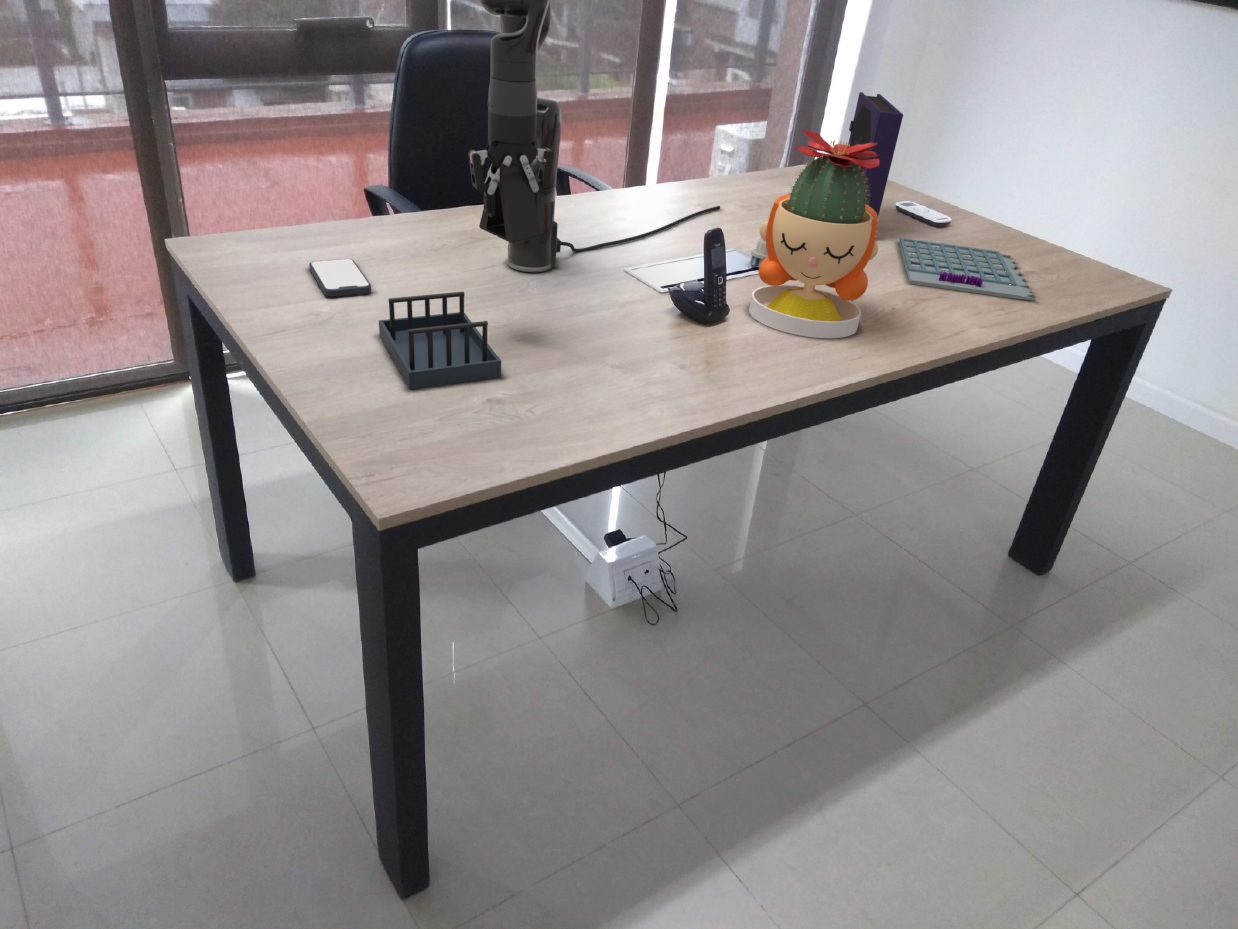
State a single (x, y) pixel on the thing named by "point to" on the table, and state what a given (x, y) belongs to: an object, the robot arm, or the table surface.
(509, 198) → the phone stand
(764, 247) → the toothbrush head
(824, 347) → the table surface
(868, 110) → the book
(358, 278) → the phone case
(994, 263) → the calendar
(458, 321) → the drying rack
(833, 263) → the potted cactus
